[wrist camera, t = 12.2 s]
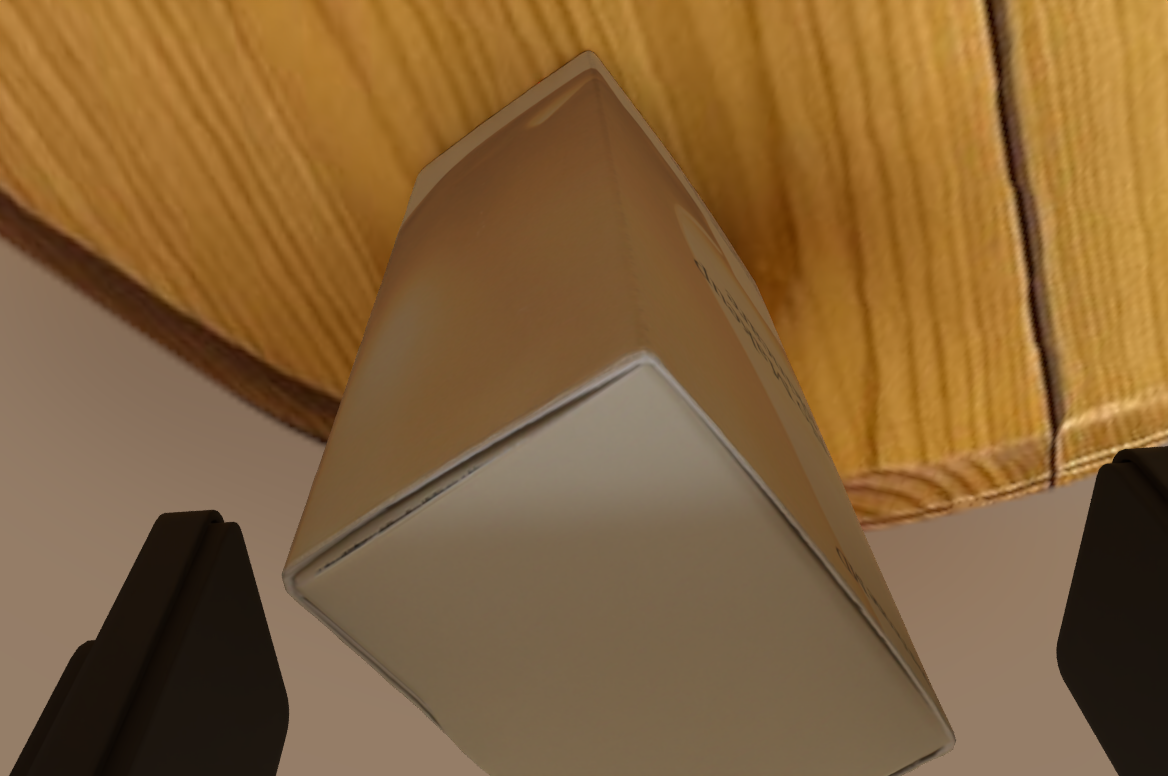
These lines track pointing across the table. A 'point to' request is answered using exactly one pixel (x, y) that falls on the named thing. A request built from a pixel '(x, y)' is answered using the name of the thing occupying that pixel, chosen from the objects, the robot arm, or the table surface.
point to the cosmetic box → (599, 481)
